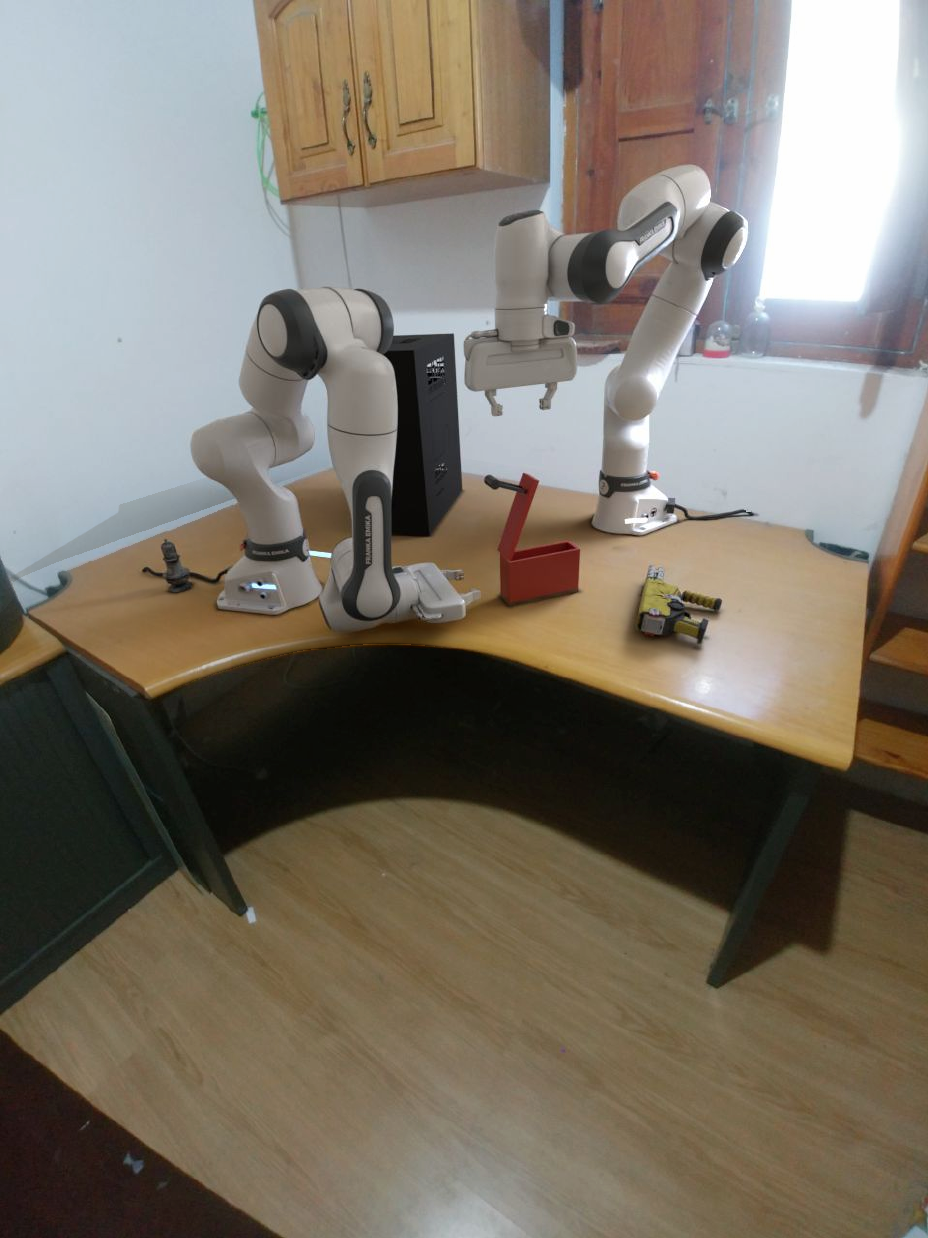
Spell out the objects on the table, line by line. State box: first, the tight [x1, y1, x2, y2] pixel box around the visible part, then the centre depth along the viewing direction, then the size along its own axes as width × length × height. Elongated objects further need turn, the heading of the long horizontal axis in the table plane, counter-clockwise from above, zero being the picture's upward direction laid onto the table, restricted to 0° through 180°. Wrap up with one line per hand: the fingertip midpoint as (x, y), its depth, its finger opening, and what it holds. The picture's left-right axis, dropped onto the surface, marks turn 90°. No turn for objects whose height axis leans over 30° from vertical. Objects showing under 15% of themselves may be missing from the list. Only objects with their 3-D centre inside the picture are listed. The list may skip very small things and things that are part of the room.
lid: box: [483, 472, 540, 560], centre depth 116 cm, size 16×5×9 cm
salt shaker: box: [160, 538, 194, 593], centre depth 136 cm, size 6×6×12 cm
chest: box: [499, 540, 581, 607], centre depth 125 cm, size 16×5×10 cm, turn 109°
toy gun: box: [635, 564, 723, 645], centre depth 117 cm, size 5×24×15 cm
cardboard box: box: [383, 332, 463, 537], centre depth 165 cm, size 38×20×45 cm, turn 167°
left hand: (471, 583), depth 121 cm, fingers open, 8 cm apart
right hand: (521, 412), depth 108 cm, fingers open, 8 cm apart
